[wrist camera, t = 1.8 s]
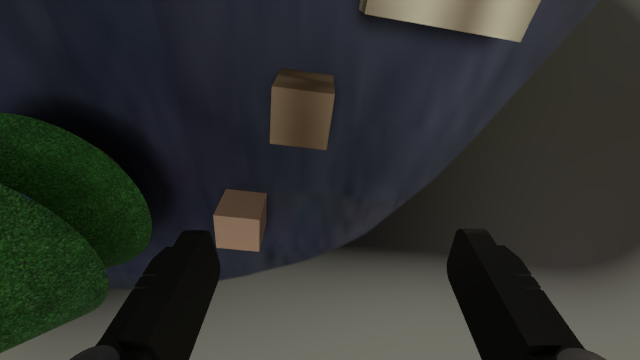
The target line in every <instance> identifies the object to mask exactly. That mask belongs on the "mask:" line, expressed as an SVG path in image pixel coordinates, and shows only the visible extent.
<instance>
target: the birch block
mask: <svg viewBox="0 0 640 360" xmlns="http://www.w3.org/2000/svg"><path fill="white" fill-rule="evenodd" d="M540 1H541V0H360V5H359V10H360V11H361V12H363V13H364V14H367V15H373V16H378V17H384V18H389V19H395V20H400V21H406V22H411V23H417V24H423V25H428V26H434V27H439V28H445V29H450V30H456V31H461V32H467V33H472V34H478V35H483V36H489V37H495V38H500V39H506V40H511V41H517V42H521V40H522V38H523V36H524V34H525V32H526V30H527V28H528V25H529V23H530V21H531V19H532V17H533V15H534V13H535V11H536V9H537V7H538V5H539V3H540Z"/></svg>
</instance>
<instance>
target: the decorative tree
mask: <svg viewBox="0 0 640 360" xmlns="http://www.w3.org/2000/svg"><path fill="white" fill-rule="evenodd" d="M151 233H152V219H151V214H150V211H149V208H148V205H147V203H146V201H145V199H144V197H143V195H142V193H141V192H140V190H139V189H138V187H137V186H136V184H135V183H134V182H133V181H132V179H131V178H130V177H129V176H128V175H127V174H126V173H125V172H124V171H123V170H122V168H121V167H120V166H119V165H118V163H117V162H116V161H115V160H114V159H113V158H112V157H111V156H110V155H108V154H107V153H105V152H104V151H102V150H100V149H98V148H96V147H94V146H93V145H91V144H90V143H88V142H87V141H85V140H83V139H82V138H80V137H78V136H76V135H74V134H72V133H70V132H68V131H66V130H64V129H62V128H60V127H57V126H55V125H52V124H50V123H47V122H44V121H41V120H38V119H34V118H31V117H26V116H22V115H16V114H10V113H0V353H2V352H4V351H6V350H8V349H10V348H13V347H15V346H17V345H19V344H21V343H24V342H26V341H28V340H30V339H32V338H35V337H37V336H39V335H41V334H43V333H46V332H48V331H50V330H52V329H54V328H57V327H59V326H61V325H63V324H65V323H67V322H70V321H72V320H74V319H76V318H79V317H81V316H83V315H85V314H87V313H90V312H91V311H93V310H95V309H96V308H98V307H99V306H100V305H101V304H102V303H103V301H104V300H105V298H106V296H107V293H108V289H109V280H108V275H107V272H106V269H105V268H108V267H112V266H116V265H119V264H123V263H125V262H128V261H130V260H132V259H134V258H135V257H137V256H138V255H139V254H140V253H141V252H142V251H143V250H144V249H145V248H146V246H147V245H148V243H149V241H150V238H151Z"/></svg>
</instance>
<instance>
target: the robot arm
mask: <svg viewBox="0 0 640 360" xmlns="http://www.w3.org/2000/svg"><path fill="white" fill-rule="evenodd" d="M447 275H448V279H449V282H450V284H451V286H452V289H453V291H454V294H455V296H456V299H457V301H458V303H459V306H460V308H461V311H462V313H463V315H464V318H465V320H466V323H467V325H468V327H469V330H470V332H471V335H472V337H473V339H474V342H475V344H476V347H477V349H478V352H479V354H480V356H481V359H482V360H606V359H605V358H603V357H601V356H599V355H597V354H595V353H593V352H591V351H587V350H586V349H585V348H584V347H583V346H582V344H581V343H580V342H579V341H578V339H577V338H576V336H575V335H574V333H573V332H572V331H571V329H570V328H569V326H568V325H567V324H566V322H565V321H564V319H563V318H562V317H561V315H560V314H559V312H558V311H557V310H556V308H555V307H554V305H553V304H552V303H551V301H550V300H549V298H548V297H547V295H546V294H545V293H544V291H543V290H541V289H540V286H539V285H538V283H537V281H536V280H535V279H534V277H532V276H531V273H530V271H529V270H528V269H527V267H526V266H525V265H524V263H523V262H522V260H521V259H520V258H519V257H518V256H516V255H515V254H514V253H513V252H512V251H510V250H509V249H508V248H507V247H505V246H497V244H496V243H495V242H494V240H493V238H492V237H491V235H490V234H489V232H487V230H485V229H458V230H457V232H456V234H455V237H454V241H453V244H452V247H451V250H450V254H449V257H448V261H447ZM219 276H220V261H219V258H218V255H217V252H216V248H215V245H214V242H213V239H212V236H211V233H210V232H209V231H208V230H185V231H183V232H182V233H181V234H180V236H179V237H178V239H177V241H176V242H175V244H174V246H173V247H166V248H165V249H163V250H162V251H161V252H160V253H159V254H158V255H157V256H155V257H154V258H153V259H152V260H151V262H150V263H149V265H148V266H147V268H146V270H145V271H144V273H143V276H142V277H140V279H139V280H138V282H137V283H136V285H135V289H134V290H132V291H131V293H130V294H129V296H128V297H127V299H126V301H125V302H124V304H123V305H122V307H121V308H120V310H119V311H118V313H117V315H116V316H115V318H114V319H113V321H112V322H111V324H110V325H109V327H108V328H107V330H106V332H105V333H104V335H103V336H102V338H101V339H100V341H99V342H98V343H97V344H96V346H95V347H91V348H88V349H86V350H84V351H82V352H80V353H79V354H77V355H75V356H74V357H73V358H71V359H70V360H189V358H190V356H191V353H192V350H193V348H194V345H195V342H196V339H197V337H198V334H199V331H200V329H201V326H202V323H203V321H204V318H205V315H206V313H207V310H208V307H209V305H210V302H211V299H212V296H213V293H214V291H215V288H216V286H217V283H218V280H219Z"/></svg>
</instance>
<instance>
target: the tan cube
mask: <svg viewBox="0 0 640 360" xmlns="http://www.w3.org/2000/svg"><path fill="white" fill-rule="evenodd" d="M266 211H267V193H259V192H249V191H240V190H231V189H226V190H225V192H224V194H223V196H222V198H221V200H220V202H219V204H218V206H217V208H216V211H215V213H214V215H213V218H214V228H215V238H216V248H226V249H237V250H247V251H257V252H259V250H260V246H261V242H262V238H263V234H264V230H265V226H266Z"/></svg>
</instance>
